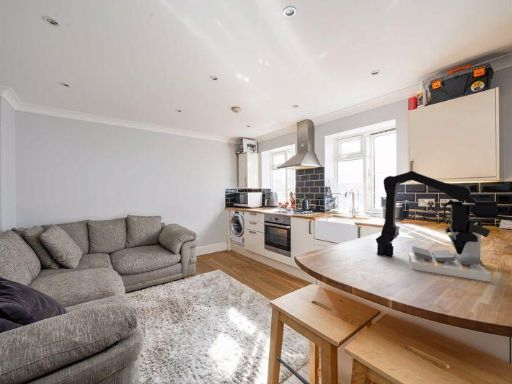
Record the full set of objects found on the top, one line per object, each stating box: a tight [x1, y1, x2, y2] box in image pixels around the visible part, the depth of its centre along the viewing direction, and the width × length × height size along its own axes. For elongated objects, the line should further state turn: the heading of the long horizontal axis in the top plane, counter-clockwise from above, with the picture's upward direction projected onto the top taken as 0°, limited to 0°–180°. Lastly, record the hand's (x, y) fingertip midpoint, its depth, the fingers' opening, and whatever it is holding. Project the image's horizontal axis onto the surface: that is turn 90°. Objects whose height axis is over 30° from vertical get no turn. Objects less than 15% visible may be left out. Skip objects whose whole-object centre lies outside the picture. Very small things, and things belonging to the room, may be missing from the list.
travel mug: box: [462, 218, 483, 260], centre depth 98 cm, size 6×7×20 cm
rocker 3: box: [452, 252, 483, 265], centre depth 87 cm, size 6×11×1 cm, turn 148°
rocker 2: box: [430, 249, 456, 261], centre depth 91 cm, size 6×11×1 cm, turn 148°
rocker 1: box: [411, 245, 433, 260], centre depth 95 cm, size 6×11×1 cm, turn 149°
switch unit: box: [408, 252, 491, 282], centre depth 90 cm, size 23×15×4 cm, turn 58°
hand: (459, 254), depth 88 cm, fingers closed
